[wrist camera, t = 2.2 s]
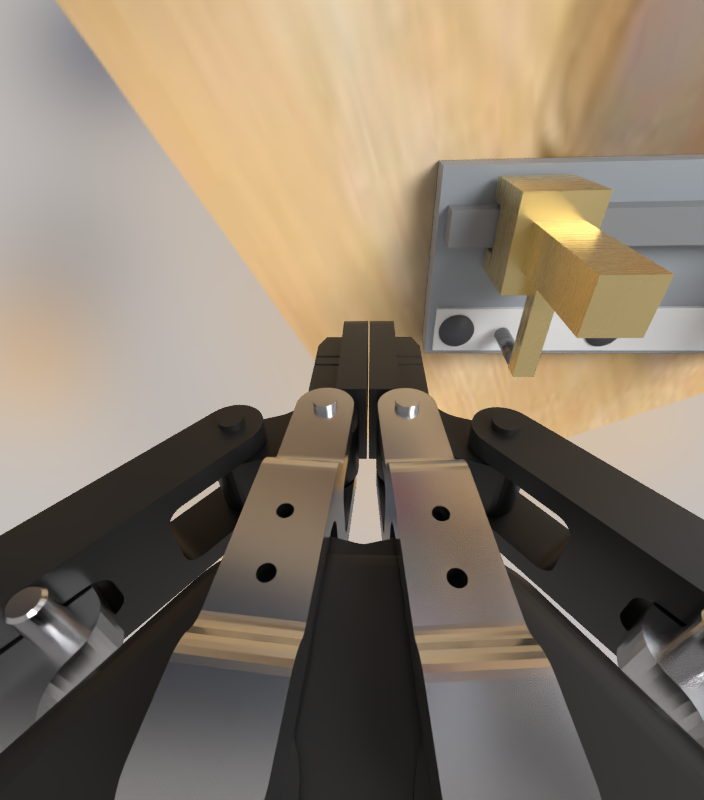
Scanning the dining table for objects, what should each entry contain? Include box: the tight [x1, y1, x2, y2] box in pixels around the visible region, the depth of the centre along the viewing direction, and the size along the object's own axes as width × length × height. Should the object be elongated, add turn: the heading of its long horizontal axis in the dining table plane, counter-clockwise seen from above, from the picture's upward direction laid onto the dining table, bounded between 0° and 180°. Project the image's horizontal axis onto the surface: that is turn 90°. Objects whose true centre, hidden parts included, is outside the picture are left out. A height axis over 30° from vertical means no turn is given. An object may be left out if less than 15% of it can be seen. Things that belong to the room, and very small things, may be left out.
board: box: [422, 154, 704, 353], centre depth 25 cm, size 12×26×4 cm, turn 91°
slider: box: [482, 174, 674, 377], centre depth 20 cm, size 10×4×11 cm, turn 1°
